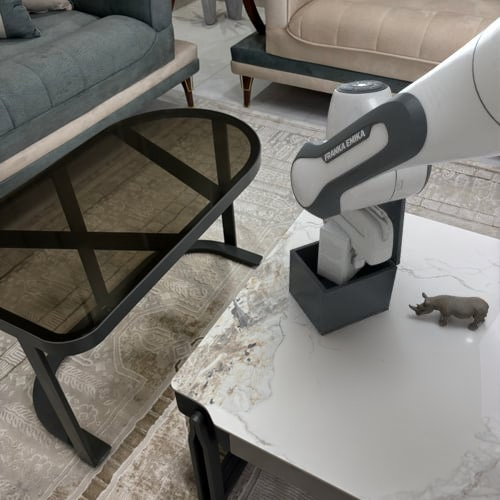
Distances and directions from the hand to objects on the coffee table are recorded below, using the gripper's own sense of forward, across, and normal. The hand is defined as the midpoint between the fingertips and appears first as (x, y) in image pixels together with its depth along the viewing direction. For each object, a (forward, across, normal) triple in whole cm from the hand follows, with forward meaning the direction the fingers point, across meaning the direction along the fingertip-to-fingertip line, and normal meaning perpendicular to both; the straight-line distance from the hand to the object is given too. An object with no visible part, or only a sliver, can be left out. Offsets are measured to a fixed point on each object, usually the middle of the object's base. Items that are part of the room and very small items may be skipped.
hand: (343, 251), depth 87 cm
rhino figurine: (+13, -12, -15) cm, 23 cm away
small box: (+4, 0, 0) cm, 4 cm away
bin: (+12, 0, 0) cm, 12 cm away
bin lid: (-6, 0, -6) cm, 9 cm away
